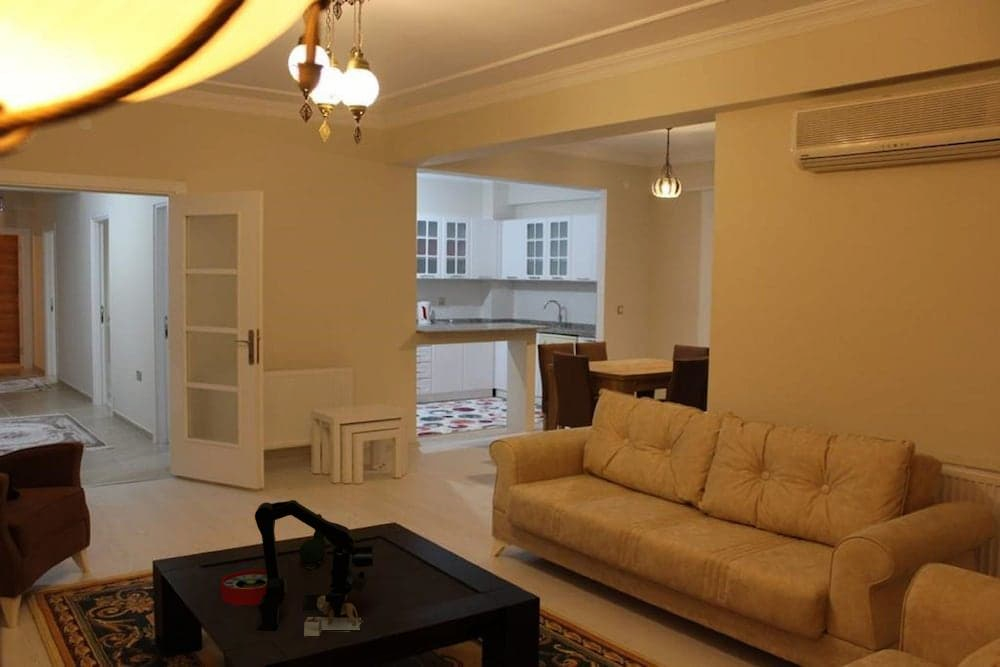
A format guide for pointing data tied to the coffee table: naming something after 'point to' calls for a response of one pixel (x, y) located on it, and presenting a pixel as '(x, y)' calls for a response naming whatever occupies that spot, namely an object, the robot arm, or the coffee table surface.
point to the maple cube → (313, 626)
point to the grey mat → (340, 624)
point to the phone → (310, 603)
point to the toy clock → (244, 587)
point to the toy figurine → (313, 550)
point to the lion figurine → (328, 610)
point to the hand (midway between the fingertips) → (339, 614)
